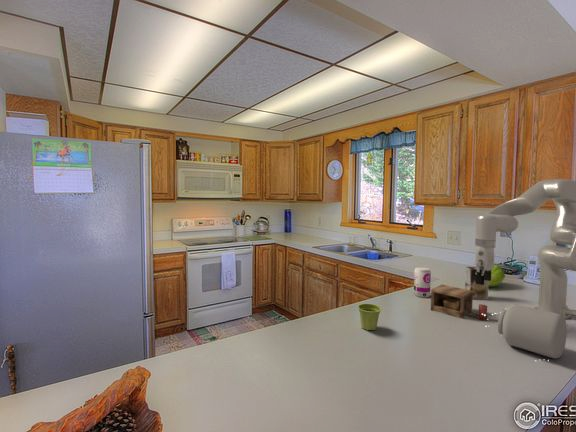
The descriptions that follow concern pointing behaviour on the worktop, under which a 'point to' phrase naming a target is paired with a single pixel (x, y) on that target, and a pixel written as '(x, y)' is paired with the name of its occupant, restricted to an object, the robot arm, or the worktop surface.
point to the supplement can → (422, 282)
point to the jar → (533, 330)
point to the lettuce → (496, 276)
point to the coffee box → (470, 284)
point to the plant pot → (369, 315)
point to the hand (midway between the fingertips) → (483, 282)
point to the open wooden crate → (453, 293)
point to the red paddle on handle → (455, 306)
